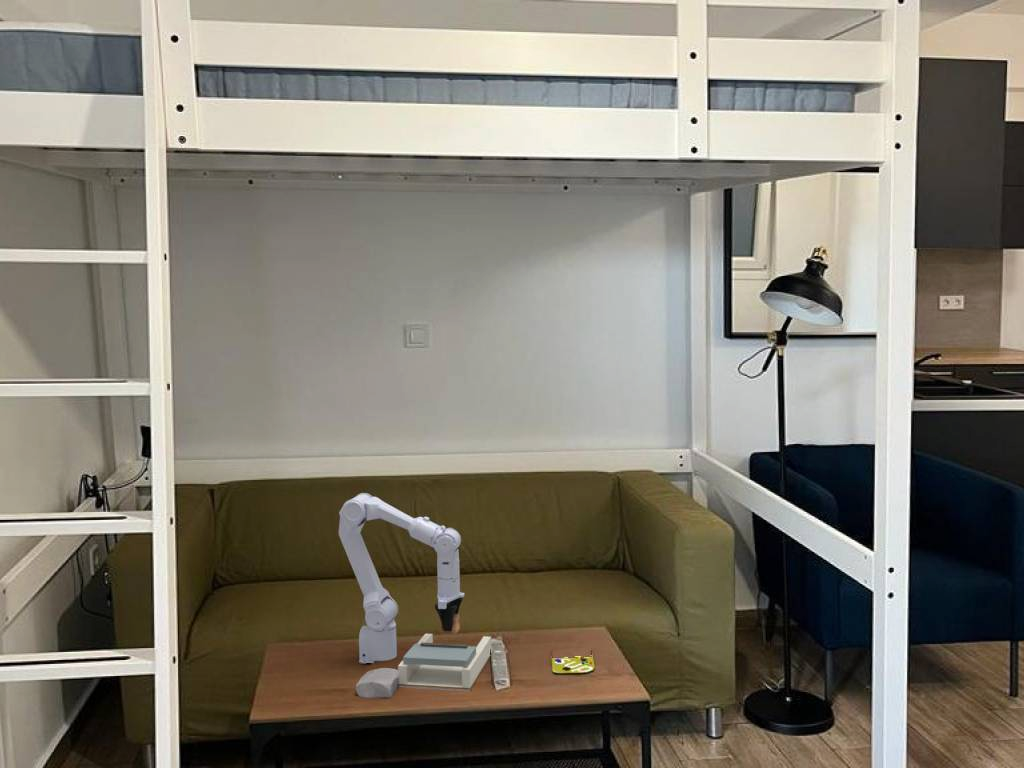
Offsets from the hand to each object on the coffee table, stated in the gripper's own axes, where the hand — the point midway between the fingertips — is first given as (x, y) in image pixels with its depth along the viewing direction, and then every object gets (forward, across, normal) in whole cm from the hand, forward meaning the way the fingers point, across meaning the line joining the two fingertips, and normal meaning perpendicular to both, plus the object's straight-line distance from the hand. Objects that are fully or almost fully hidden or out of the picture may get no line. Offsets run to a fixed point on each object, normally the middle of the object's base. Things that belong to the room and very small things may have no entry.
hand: (449, 627), depth 262 cm
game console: (+10, +5, -31) cm, 33 cm away
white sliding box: (+9, -6, -1) cm, 11 cm away
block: (+1, 0, 0) cm, 1 cm away
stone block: (+10, -19, +13) cm, 25 cm away
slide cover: (+4, -12, -1) cm, 13 cm away
